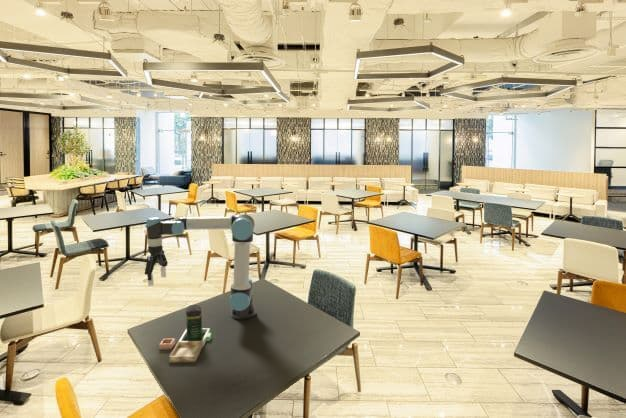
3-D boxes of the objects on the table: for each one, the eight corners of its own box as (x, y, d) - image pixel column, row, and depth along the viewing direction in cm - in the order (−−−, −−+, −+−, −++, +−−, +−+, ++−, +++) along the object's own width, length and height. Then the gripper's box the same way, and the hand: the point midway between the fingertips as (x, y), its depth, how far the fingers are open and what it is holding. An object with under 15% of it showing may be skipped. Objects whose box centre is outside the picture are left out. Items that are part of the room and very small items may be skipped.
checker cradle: (213, 332, 209) (213, 328, 209) (207, 346, 194) (207, 341, 194) (186, 332, 208) (186, 328, 208) (178, 346, 194) (178, 342, 193)
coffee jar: (202, 342, 198) (201, 309, 195) (187, 344, 195) (185, 311, 193) (202, 334, 207) (200, 302, 204) (187, 336, 204) (185, 304, 202)
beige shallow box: (202, 346, 194) (202, 341, 193) (195, 362, 180) (195, 356, 179) (178, 346, 193) (178, 341, 193) (169, 362, 179) (168, 356, 179)
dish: (175, 343, 196) (175, 338, 196) (171, 349, 190) (171, 344, 190) (163, 343, 196) (163, 338, 196) (159, 349, 190) (159, 344, 190)
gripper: (160, 239, 220) (162, 273, 224) (135, 250, 196) (138, 288, 199) (172, 240, 220) (174, 274, 223) (149, 251, 195) (151, 289, 198)
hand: (157, 281), depth 211 cm, fingers open, 13 cm apart
